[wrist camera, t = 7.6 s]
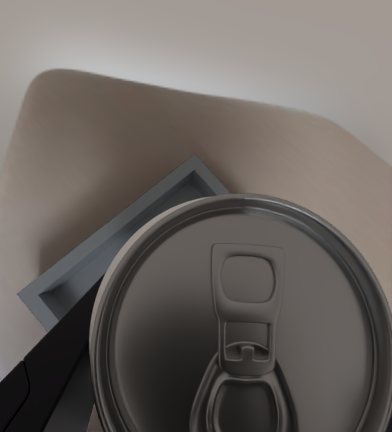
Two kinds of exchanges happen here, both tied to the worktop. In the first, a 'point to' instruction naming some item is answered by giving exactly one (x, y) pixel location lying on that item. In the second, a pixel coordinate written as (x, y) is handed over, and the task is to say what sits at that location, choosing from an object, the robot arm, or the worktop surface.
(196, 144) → the worktop surface
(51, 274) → the tray
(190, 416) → the can
